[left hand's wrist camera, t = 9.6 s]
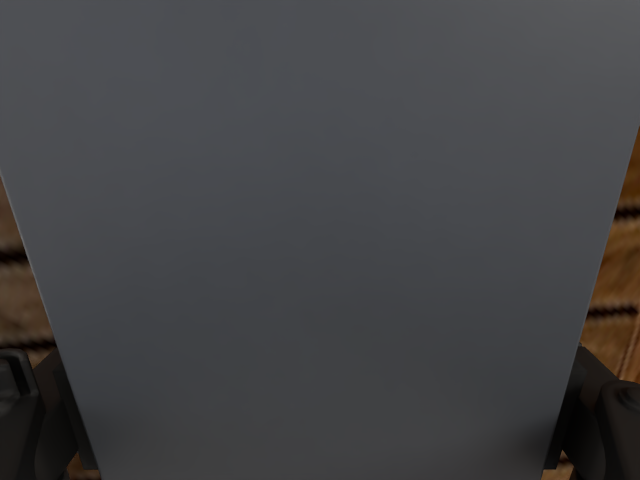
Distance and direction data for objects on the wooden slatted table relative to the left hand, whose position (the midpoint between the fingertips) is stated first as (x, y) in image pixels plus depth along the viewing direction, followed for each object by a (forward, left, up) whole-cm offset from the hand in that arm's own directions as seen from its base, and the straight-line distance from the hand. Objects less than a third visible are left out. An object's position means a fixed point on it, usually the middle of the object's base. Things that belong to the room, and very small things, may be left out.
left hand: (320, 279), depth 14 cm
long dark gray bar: (+3, +30, -1) cm, 30 cm away
